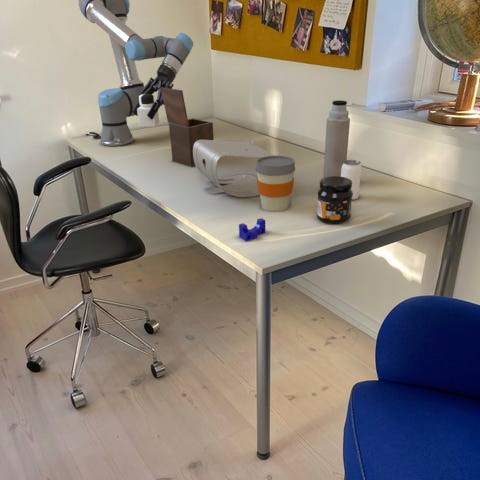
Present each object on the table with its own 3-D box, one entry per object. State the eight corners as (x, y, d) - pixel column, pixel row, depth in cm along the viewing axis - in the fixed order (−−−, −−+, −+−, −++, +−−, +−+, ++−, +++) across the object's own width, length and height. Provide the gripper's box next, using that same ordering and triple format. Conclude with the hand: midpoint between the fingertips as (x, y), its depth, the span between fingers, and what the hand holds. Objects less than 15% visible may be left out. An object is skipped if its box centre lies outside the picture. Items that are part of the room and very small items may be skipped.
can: (354, 202, 173) (357, 166, 167) (336, 198, 176) (338, 163, 170) (361, 196, 178) (364, 161, 171) (343, 193, 181) (346, 158, 174)
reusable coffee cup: (266, 215, 165) (266, 168, 157) (250, 203, 175) (249, 158, 167) (300, 209, 169) (302, 163, 161) (283, 197, 179) (283, 153, 171)
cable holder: (246, 241, 149) (245, 228, 147) (239, 237, 151) (238, 224, 149) (268, 234, 153) (268, 221, 150) (261, 230, 155) (261, 218, 153)
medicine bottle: (159, 122, 223) (156, 92, 216) (155, 126, 217) (152, 96, 210) (143, 122, 223) (139, 92, 217) (138, 126, 217) (135, 96, 211)
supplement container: (310, 221, 160) (312, 183, 153) (324, 210, 167) (326, 173, 161) (342, 227, 155) (346, 188, 149) (355, 216, 163) (359, 178, 156)
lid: (162, 87, 204) (160, 87, 204) (182, 90, 196) (180, 90, 196) (169, 122, 213) (167, 122, 212) (189, 126, 205) (187, 127, 204)
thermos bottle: (325, 178, 196) (330, 98, 181) (346, 179, 193) (353, 99, 178) (321, 184, 189) (325, 102, 174) (342, 186, 187) (349, 103, 172)
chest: (195, 154, 228) (192, 118, 220) (214, 160, 220) (212, 122, 212) (172, 161, 221) (168, 123, 213) (191, 166, 213) (188, 127, 205)
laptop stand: (194, 182, 196) (191, 140, 187) (251, 173, 203) (250, 132, 195) (218, 203, 176) (216, 157, 168) (280, 192, 183) (281, 147, 175)
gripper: (191, 78, 212) (164, 125, 212) (158, 73, 226) (133, 117, 226) (179, 65, 207) (152, 113, 206) (147, 61, 220) (120, 106, 220)
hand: (142, 115), depth 216 cm, fingers closed on medicine bottle, 10 cm apart
